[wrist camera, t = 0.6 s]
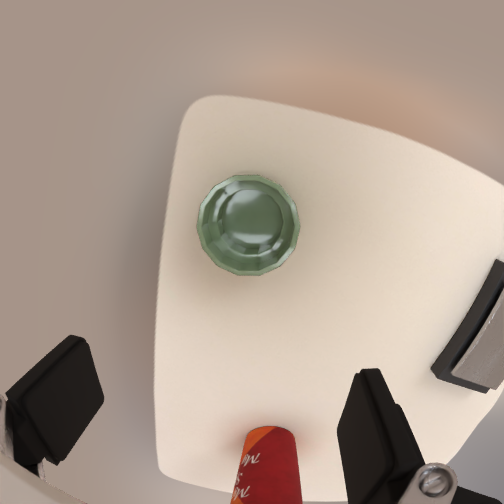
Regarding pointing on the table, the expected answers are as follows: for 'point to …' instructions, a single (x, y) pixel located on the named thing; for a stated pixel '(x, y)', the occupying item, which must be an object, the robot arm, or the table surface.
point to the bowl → (248, 225)
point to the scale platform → (486, 352)
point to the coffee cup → (268, 469)
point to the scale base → (470, 330)
